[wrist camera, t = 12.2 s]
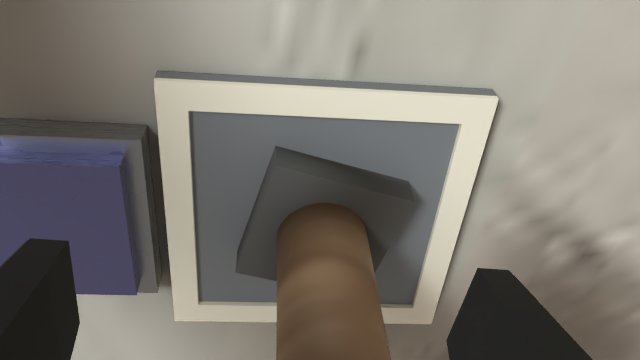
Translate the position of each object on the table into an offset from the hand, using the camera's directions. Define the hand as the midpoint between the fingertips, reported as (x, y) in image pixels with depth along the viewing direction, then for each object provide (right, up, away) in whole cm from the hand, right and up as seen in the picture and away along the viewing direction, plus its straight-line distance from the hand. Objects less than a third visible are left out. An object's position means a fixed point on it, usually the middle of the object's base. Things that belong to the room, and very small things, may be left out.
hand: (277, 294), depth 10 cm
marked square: (+1, +1, +11) cm, 11 cm away
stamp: (+1, +1, +11) cm, 11 cm away
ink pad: (-9, +1, +10) cm, 14 cm away
